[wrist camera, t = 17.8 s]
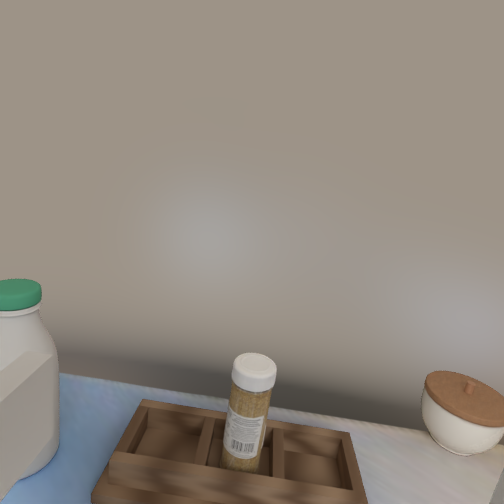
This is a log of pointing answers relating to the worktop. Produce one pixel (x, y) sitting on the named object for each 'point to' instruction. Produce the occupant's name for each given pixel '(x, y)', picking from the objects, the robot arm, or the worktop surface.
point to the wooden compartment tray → (208, 463)
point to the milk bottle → (28, 346)
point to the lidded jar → (462, 413)
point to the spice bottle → (247, 412)
